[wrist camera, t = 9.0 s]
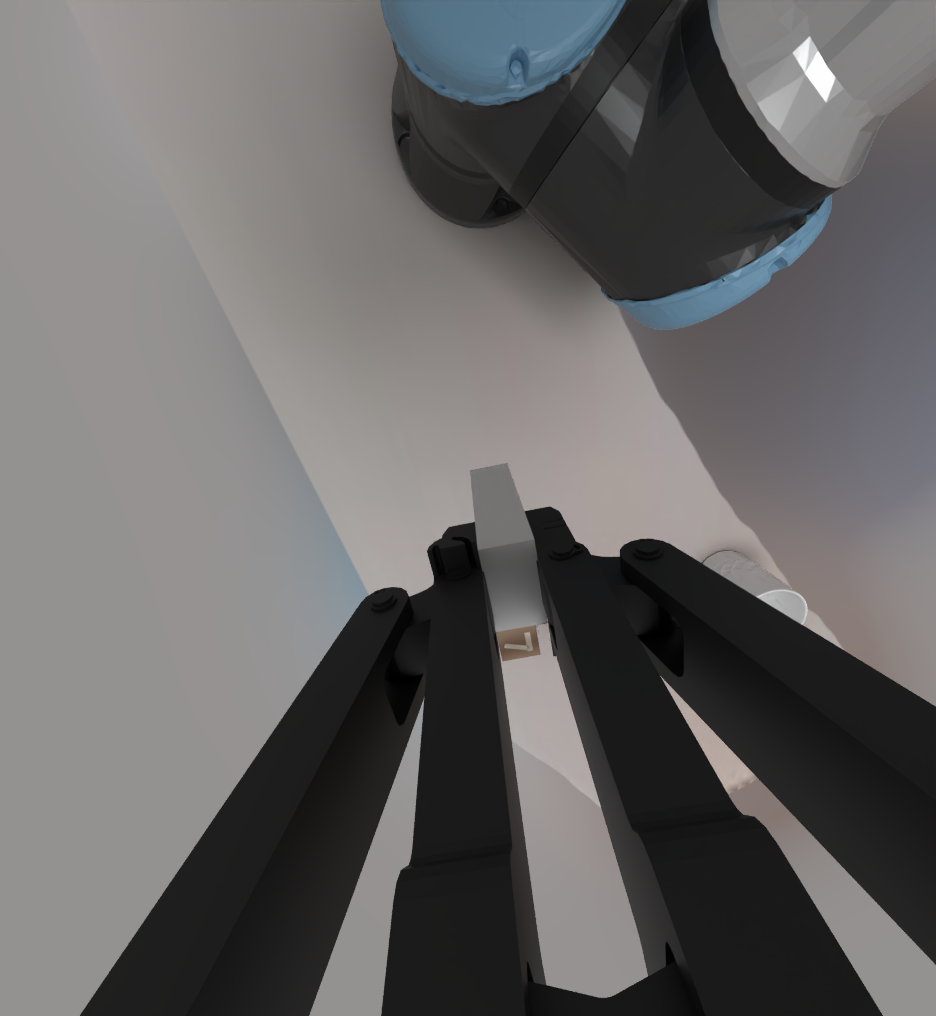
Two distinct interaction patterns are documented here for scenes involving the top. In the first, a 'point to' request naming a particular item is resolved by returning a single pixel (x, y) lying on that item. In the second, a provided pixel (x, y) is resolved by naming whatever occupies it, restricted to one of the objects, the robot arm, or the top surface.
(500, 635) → the walnut block seven
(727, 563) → the white cup
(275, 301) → the top surface
